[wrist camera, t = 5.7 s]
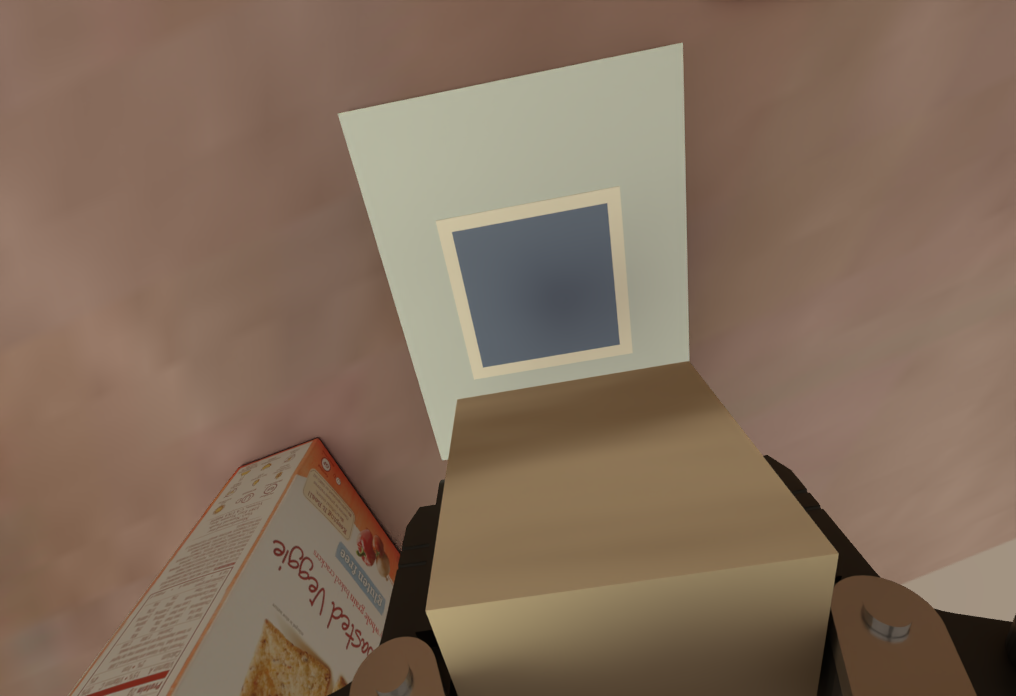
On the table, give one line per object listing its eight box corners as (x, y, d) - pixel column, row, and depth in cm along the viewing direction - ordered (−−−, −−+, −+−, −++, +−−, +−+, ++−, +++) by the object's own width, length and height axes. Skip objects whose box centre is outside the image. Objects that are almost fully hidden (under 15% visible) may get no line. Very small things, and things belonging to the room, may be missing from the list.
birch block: (457, 399, 11) (425, 611, 6) (688, 360, 10) (839, 553, 6) (500, 560, 13) (500, 806, 8) (692, 532, 12) (804, 772, 8)
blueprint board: (346, 113, 21) (336, 113, 20) (673, 46, 20) (684, 41, 19) (444, 447, 29) (441, 462, 27) (683, 409, 28) (691, 423, 26)
